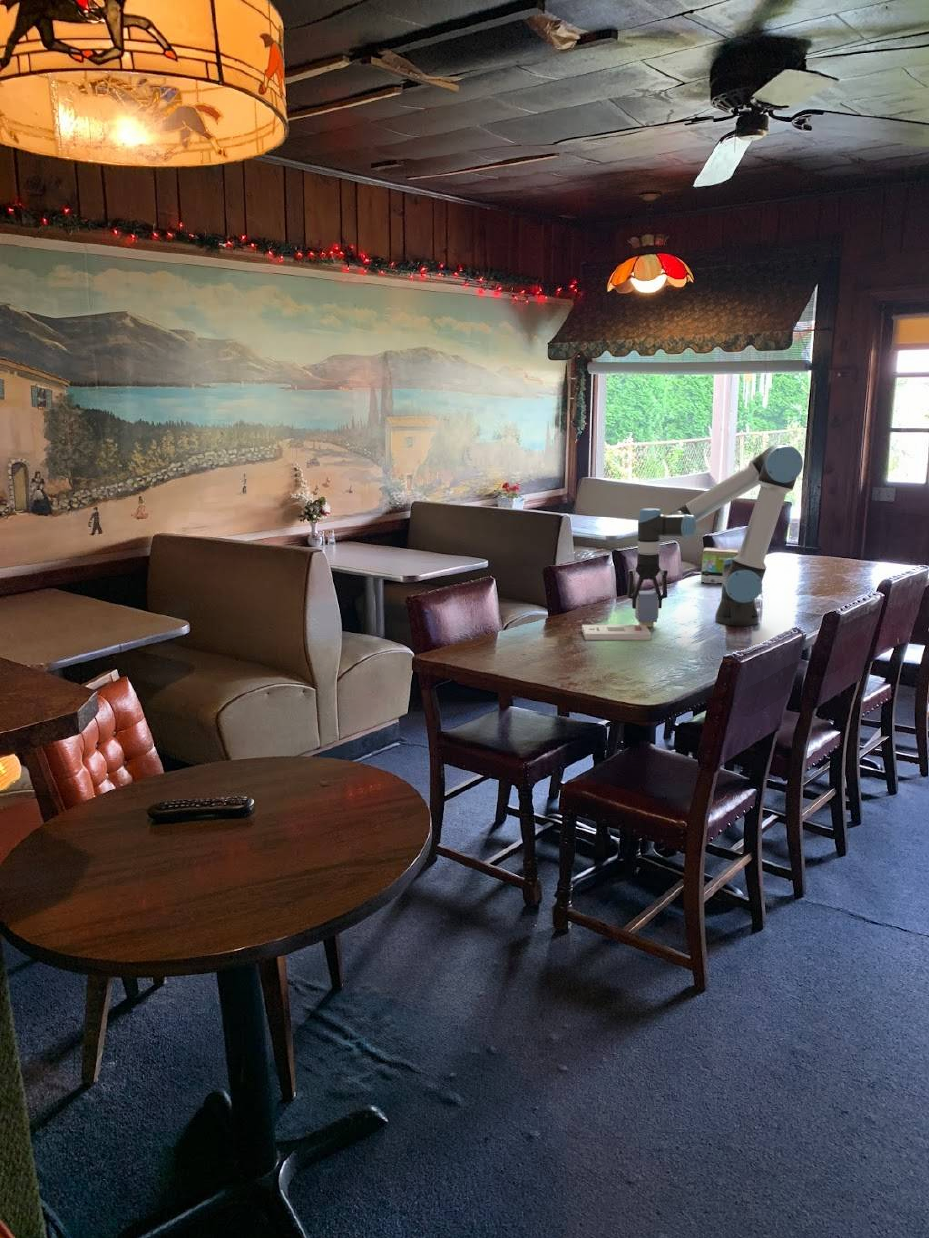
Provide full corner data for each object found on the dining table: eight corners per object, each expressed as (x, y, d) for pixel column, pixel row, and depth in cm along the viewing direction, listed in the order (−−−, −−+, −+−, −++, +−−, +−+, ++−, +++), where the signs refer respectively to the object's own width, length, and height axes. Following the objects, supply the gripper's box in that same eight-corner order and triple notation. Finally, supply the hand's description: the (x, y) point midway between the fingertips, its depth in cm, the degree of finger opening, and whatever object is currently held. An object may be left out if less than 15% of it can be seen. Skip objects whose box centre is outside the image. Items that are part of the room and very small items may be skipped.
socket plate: (645, 630, 325) (645, 623, 324) (651, 639, 312) (651, 632, 312) (582, 630, 326) (582, 623, 325) (585, 639, 313) (585, 632, 313)
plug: (653, 623, 334) (654, 590, 332) (656, 627, 328) (657, 594, 325) (635, 623, 334) (636, 590, 332) (638, 627, 328) (639, 594, 326)
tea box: (700, 583, 410) (702, 550, 407) (702, 579, 419) (704, 546, 416) (736, 585, 405) (738, 551, 402) (737, 581, 415) (739, 548, 411)
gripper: (674, 551, 329) (672, 615, 334) (619, 551, 329) (617, 615, 335) (678, 554, 321) (676, 619, 326) (621, 554, 322) (620, 620, 327)
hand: (646, 617), depth 331 cm, fingers closed on plug, 6 cm apart
